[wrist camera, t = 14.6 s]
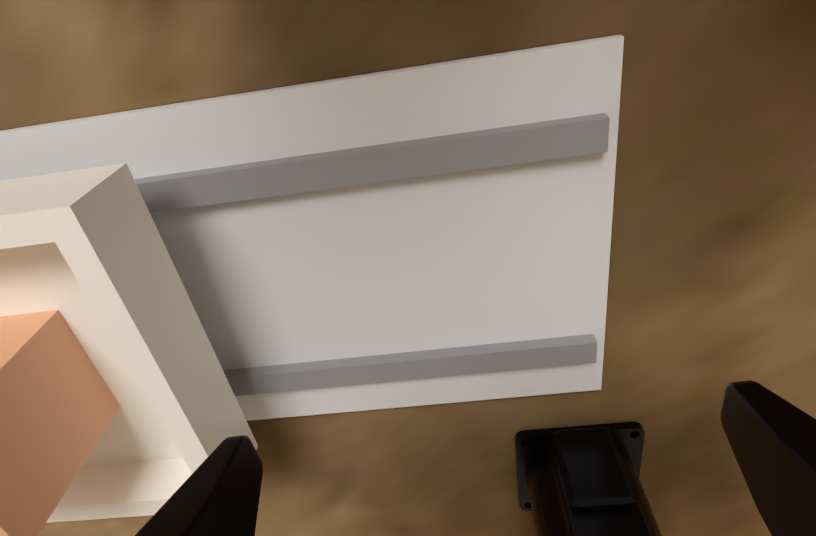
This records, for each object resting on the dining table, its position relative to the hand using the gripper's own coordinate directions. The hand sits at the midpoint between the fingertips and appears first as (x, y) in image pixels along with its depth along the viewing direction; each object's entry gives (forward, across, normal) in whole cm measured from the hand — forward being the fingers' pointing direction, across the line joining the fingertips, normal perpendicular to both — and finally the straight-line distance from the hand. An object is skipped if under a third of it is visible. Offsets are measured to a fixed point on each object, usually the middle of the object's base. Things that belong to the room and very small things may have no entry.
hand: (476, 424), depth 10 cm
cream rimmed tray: (+11, +17, +3) cm, 21 cm away
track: (+12, +11, +3) cm, 17 cm away
